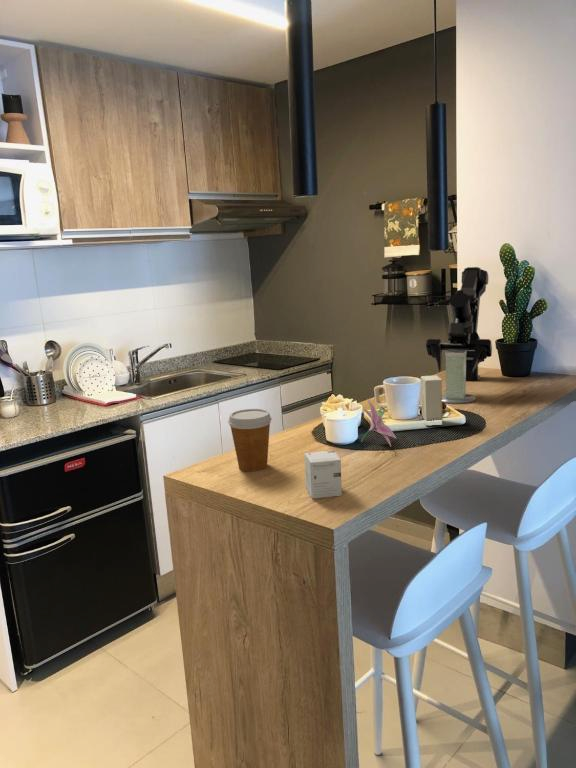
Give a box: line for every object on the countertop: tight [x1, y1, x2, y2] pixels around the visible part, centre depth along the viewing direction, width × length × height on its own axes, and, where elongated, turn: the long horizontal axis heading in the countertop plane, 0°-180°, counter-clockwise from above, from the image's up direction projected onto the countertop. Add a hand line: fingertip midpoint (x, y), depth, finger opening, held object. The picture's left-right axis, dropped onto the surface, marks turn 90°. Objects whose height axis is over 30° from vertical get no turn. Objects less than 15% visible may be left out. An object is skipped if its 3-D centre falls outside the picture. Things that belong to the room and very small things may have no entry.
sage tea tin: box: [444, 349, 467, 400], centre depth 181 cm, size 5×5×14 cm
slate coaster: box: [442, 393, 476, 405], centre depth 183 cm, size 11×11×1 cm
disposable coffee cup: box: [227, 408, 273, 472], centre depth 135 cm, size 10×10×12 cm
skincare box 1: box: [303, 450, 343, 499], centre depth 119 cm, size 6×6×7 cm
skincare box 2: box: [420, 374, 444, 421], centre depth 160 cm, size 6×4×12 cm
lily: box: [360, 398, 397, 448], centre depth 147 cm, size 12×12×10 cm
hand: (455, 371), depth 181 cm, fingers open, 9 cm apart
